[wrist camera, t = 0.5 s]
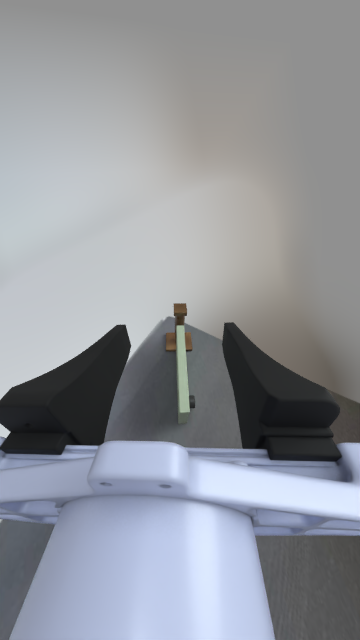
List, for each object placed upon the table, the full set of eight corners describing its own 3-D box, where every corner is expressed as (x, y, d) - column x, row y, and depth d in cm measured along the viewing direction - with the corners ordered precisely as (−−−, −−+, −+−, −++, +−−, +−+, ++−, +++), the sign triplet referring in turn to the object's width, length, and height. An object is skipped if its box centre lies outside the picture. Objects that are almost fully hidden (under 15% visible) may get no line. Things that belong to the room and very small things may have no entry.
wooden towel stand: (191, 350, 35) (197, 317, 27) (166, 351, 35) (164, 317, 27) (190, 333, 38) (194, 298, 30) (166, 334, 37) (164, 299, 29)
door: (193, 423, 26) (198, 411, 21) (178, 423, 26) (179, 412, 21) (187, 347, 35) (190, 325, 29) (176, 347, 34) (176, 325, 29)
